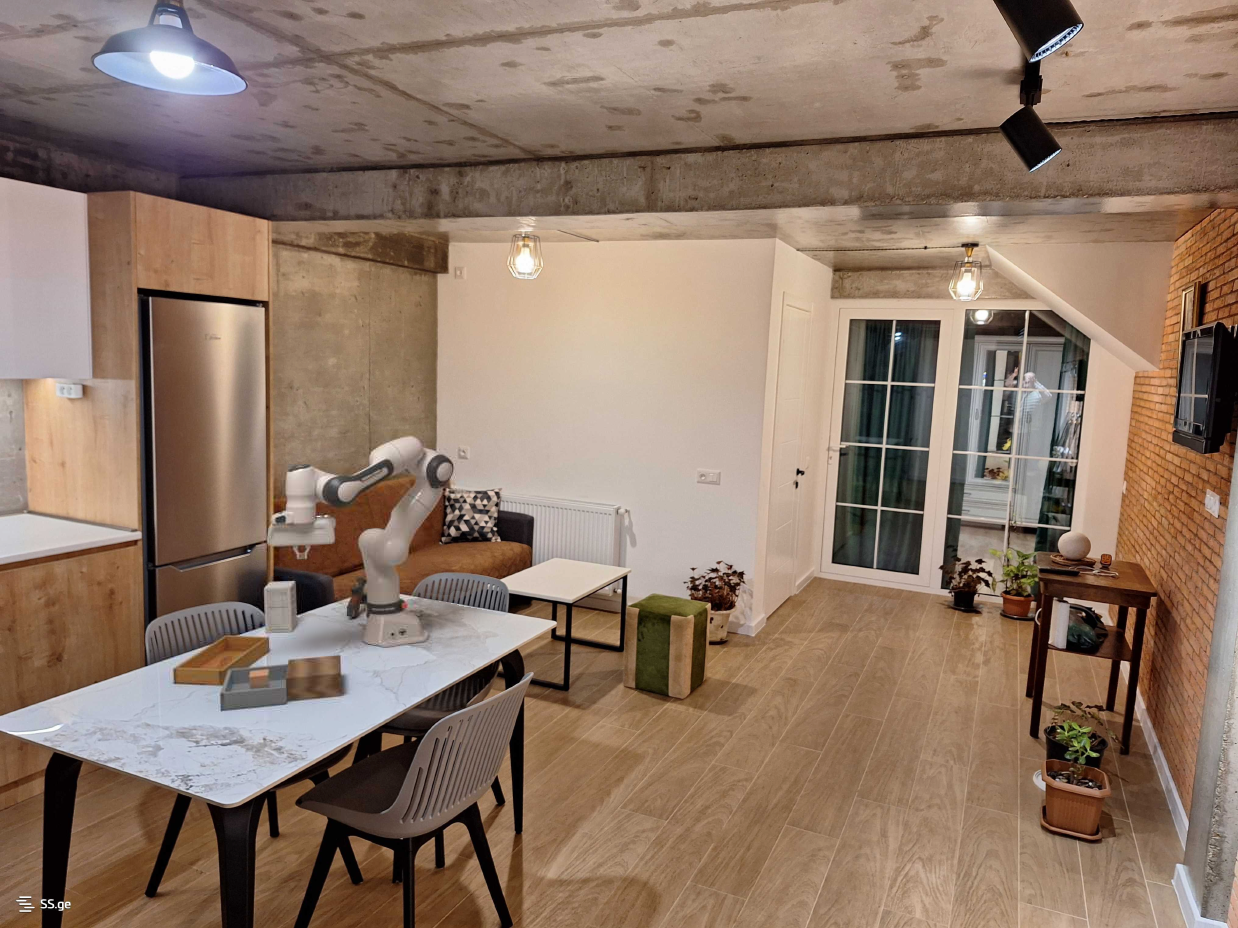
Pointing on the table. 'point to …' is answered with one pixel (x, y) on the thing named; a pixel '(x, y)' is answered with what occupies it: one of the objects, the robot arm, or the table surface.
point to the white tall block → (280, 607)
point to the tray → (220, 660)
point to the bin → (242, 697)
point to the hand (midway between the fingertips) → (302, 558)
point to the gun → (357, 597)
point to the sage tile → (261, 686)
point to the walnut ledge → (313, 678)
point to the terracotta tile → (259, 678)
